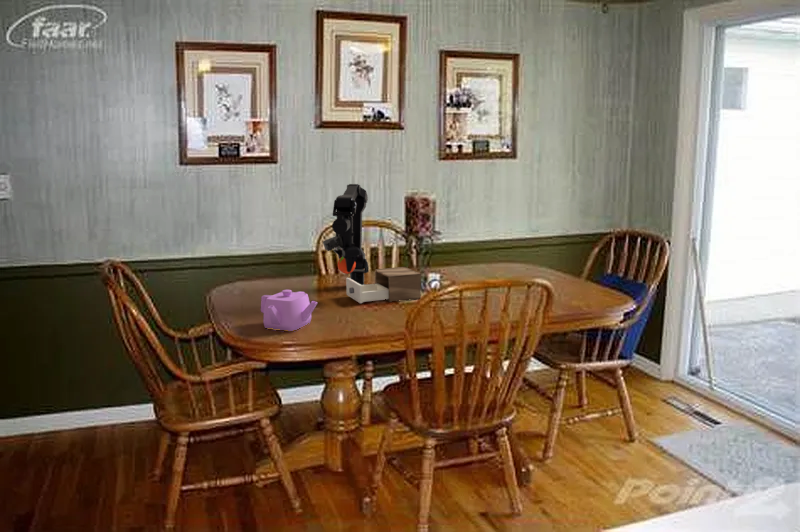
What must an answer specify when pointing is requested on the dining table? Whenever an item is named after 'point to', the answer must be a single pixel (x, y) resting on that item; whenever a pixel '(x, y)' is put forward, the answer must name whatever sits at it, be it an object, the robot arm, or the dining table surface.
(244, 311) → the dining table surface
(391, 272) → the small brown cabinet
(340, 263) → the clementine
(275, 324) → the teakettle
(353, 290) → the drawer
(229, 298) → the dining table surface
